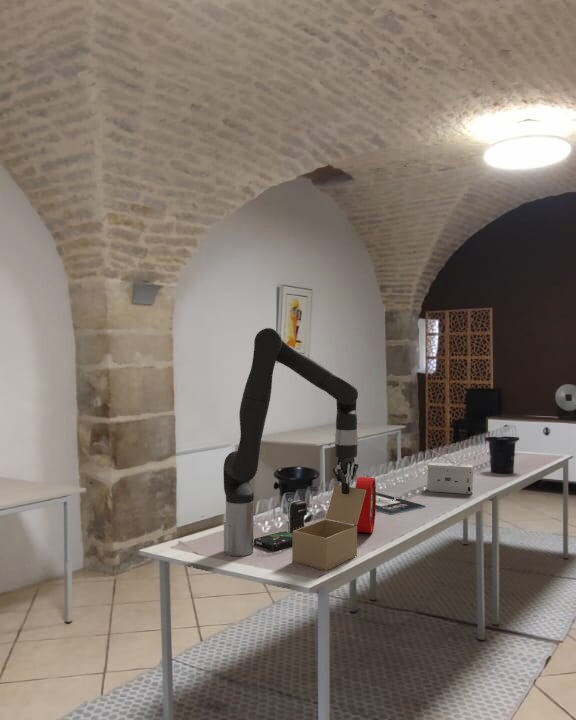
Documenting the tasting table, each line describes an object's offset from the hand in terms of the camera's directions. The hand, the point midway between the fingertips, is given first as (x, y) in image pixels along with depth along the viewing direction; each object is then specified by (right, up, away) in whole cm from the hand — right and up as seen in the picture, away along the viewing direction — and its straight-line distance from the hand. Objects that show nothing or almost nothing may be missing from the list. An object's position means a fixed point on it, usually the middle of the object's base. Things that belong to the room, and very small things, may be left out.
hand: (345, 493), depth 225 cm
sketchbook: (+22, -18, +66) cm, 72 cm away
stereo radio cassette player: (+57, -18, +90) cm, 108 cm away
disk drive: (-22, -20, +7) cm, 30 cm away
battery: (-16, -19, +21) cm, 32 cm away
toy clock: (+9, -19, +23) cm, 31 cm away
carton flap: (0, -4, 0) cm, 4 cm away
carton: (-7, -19, -9) cm, 23 cm away
